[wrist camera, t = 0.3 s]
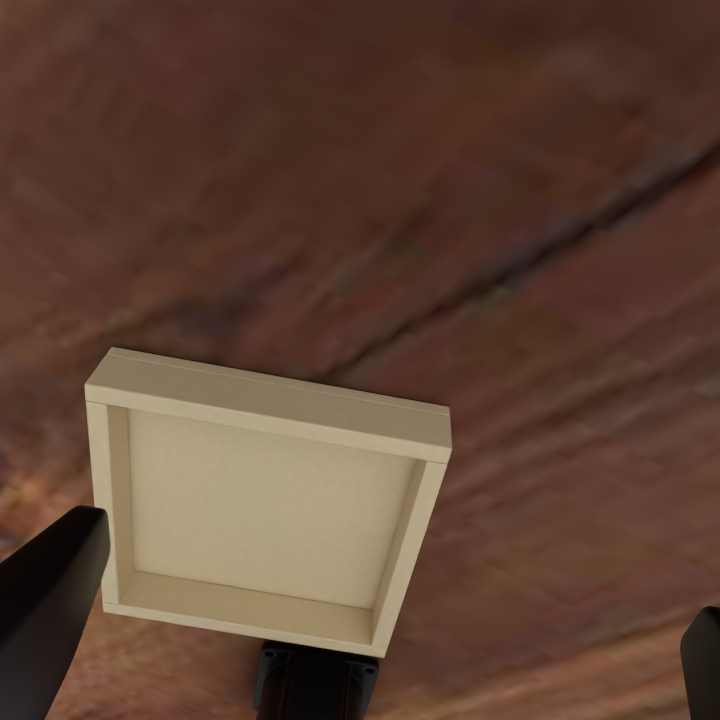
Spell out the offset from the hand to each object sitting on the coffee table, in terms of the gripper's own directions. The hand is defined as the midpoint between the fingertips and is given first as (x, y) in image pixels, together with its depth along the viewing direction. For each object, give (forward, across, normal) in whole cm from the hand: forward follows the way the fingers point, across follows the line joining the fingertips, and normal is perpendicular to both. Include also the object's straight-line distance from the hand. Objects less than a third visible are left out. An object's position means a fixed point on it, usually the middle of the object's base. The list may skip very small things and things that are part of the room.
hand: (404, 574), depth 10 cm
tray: (+14, +4, +14) cm, 21 cm away
